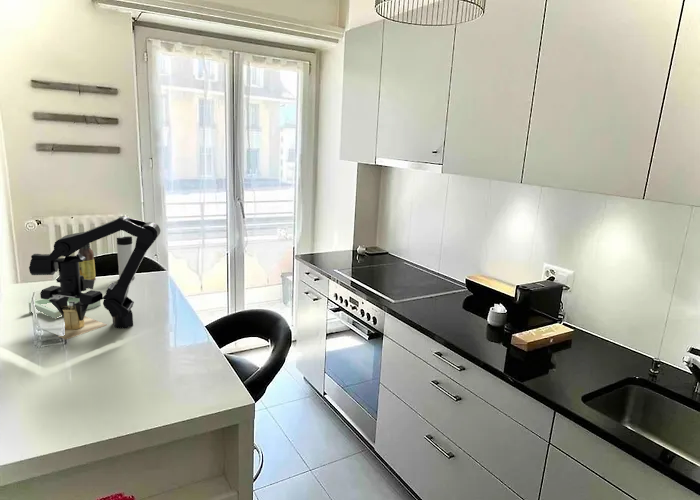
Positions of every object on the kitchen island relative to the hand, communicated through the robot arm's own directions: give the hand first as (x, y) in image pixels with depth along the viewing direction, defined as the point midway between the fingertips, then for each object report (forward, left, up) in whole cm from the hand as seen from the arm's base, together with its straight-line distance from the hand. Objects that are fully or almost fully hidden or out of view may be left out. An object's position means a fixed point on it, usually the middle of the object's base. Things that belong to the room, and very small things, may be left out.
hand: (74, 319), depth 150 cm
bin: (+19, -8, -4) cm, 21 cm away
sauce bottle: (+44, -32, -4) cm, 55 cm away
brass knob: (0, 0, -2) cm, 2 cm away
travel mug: (+34, -44, -4) cm, 56 cm away
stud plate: (0, 0, -4) cm, 4 cm away
